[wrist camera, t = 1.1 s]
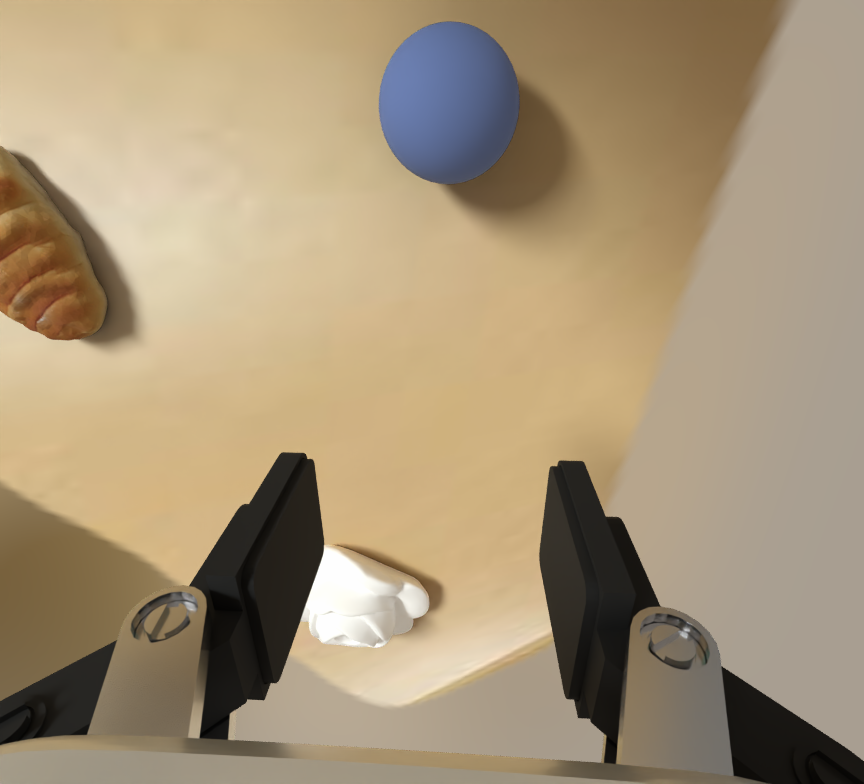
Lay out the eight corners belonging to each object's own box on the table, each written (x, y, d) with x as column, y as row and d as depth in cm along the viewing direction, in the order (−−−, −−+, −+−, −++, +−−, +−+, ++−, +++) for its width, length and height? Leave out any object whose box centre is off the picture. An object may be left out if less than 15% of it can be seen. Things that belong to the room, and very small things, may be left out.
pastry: (148, 294, 27) (101, 315, 23) (70, 355, 29) (15, 382, 25) (5, 129, 23) (-75, 125, 20) (-73, 209, 25) (-158, 218, 22)
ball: (365, 88, 22) (336, 67, 17) (476, 9, 20) (480, -39, 15) (428, 204, 24) (419, 216, 19) (533, 139, 22) (554, 133, 17)
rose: (403, 574, 28) (442, 681, 32) (411, 523, 32) (444, 624, 36) (246, 596, 30) (301, 696, 34) (271, 544, 34) (318, 639, 38)
